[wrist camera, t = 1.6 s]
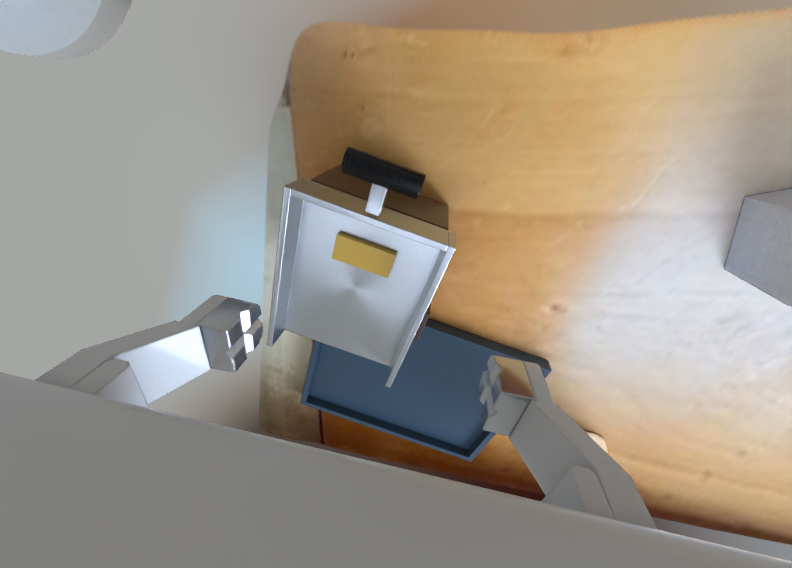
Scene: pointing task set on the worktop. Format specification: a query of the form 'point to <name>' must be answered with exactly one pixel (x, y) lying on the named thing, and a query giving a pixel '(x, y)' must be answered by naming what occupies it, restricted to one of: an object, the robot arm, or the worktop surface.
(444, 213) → the stand
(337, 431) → the worktop surface
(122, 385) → the robot arm
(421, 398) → the tray
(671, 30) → the worktop surface
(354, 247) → the yellow block
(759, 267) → the grey boxy piece
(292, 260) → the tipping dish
